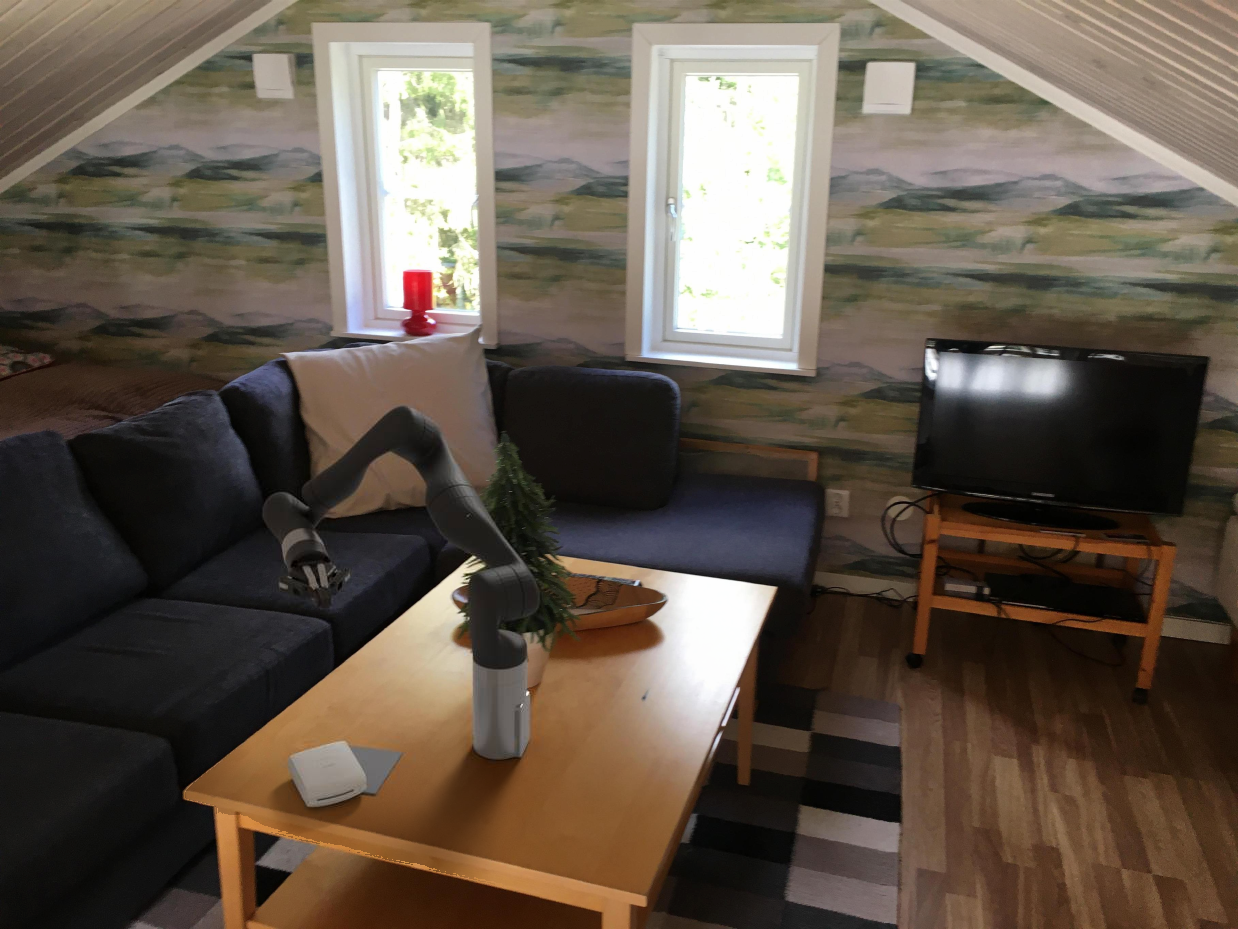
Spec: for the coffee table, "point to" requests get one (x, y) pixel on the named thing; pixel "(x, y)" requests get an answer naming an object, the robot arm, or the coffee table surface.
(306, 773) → the photo printer
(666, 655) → the coffee table surface
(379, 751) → the mat
